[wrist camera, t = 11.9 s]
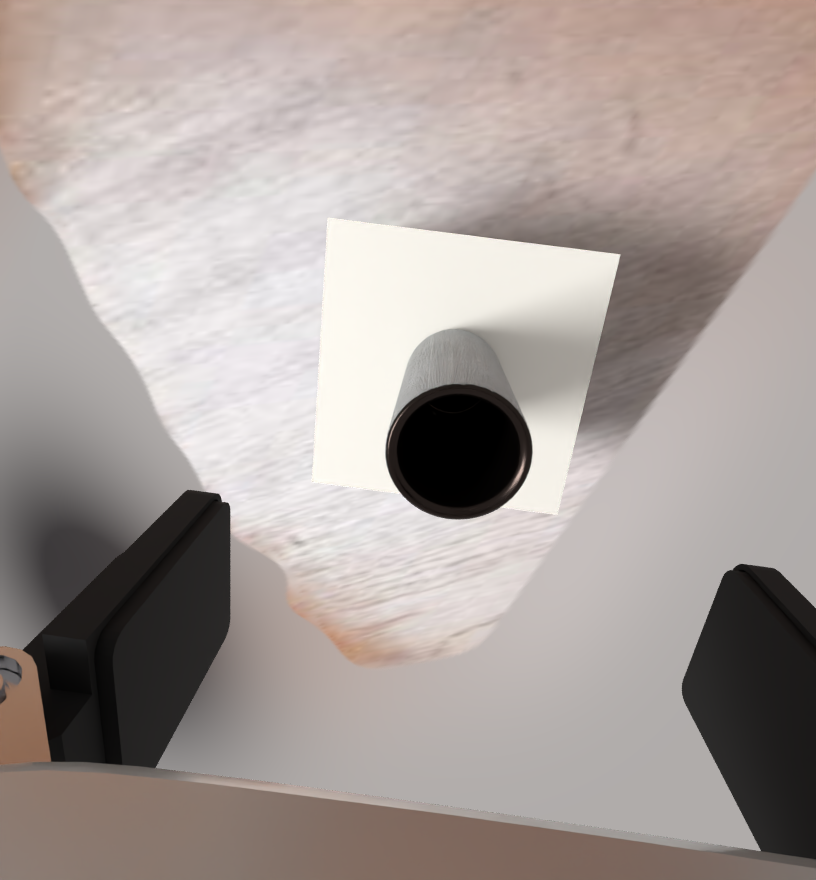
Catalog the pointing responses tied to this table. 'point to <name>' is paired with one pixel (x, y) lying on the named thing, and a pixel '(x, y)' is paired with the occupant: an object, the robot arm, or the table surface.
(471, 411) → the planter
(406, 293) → the stool
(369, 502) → the table surface
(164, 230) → the table surface
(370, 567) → the table surface
